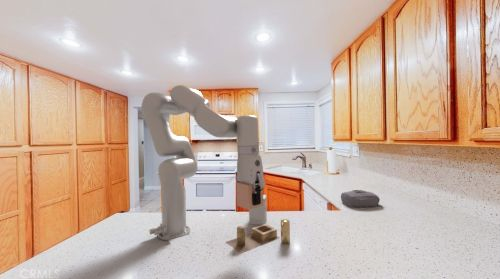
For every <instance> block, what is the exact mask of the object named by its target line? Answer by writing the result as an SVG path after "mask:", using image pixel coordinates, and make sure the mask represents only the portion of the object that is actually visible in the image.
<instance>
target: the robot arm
mask: <svg viewBox="0 0 500 279" xmlns="http://www.w3.org/2000/svg"><path fill="white" fill-rule="evenodd" d="M210 104H211V103H210V101H209V99H207V98H205V97H204V96H203V94H202V93H201V91H199V90H198V89H195V88H194V87H189V86H187V85H181V84H179V85H178V84H177V85H175V86H173V87H172V88H171V90H170V92H169V94H166V93H160V92H149V93H148V94H146V95H145V96H144V97H143V99H142V102H141V115H142V118H143V120H144V122H145V123H146V126H147V128H148V130H149V135H150V137H151V139H152V143H153V146H154V149H155V152H156V154H157V155H158V156H159V157H161V158H167V159H165V160H163V161H162V162H161V163H160V164H159V166H158V169H157V172H158V173H157V174H158V177H159V183H160V193H161V194H160V195H161V223H159V226H157V227H155V228H151V229H149V235H152V234H153V235H154V236H156V235H157V237H158V238H159V239H160V240H162V241H171V240H175V239H178V238H181V237H184V236H189V234H190V233H191V228H190V226H187V207H186V205H187V204H186V203H187V202H186V194H187V193H186V189H185V185H184V183H183V181H182V180H184V179H188V178H191V177H194V176H195V175H196V174H197V172H198V163H197V159H196V157H195V154H194V150H193V147H192V145H191V142H190V141H189V139H188V137H186V136H184V135H181V134H175V133H174V132H173V130H172V129H171V125H170V123H169V121H168V119H166V118H165V116H163V114H164V115H170V116H171V115H172V116H179V115H182V114H185V113H187V114H189V115H190V116H191V117H193V119H194V122H195V123H196V124H197V126H198V127H199V128H201V129H203V130H204V131H206V132H207V133H208V134H209V135H212V136H213V137H214V138H221V139H222V138H229V139H230V138H236V145H237V148H236V150H237V158H236V176H235V180H236V183H238V182H241V183H245V184H250V185H252V190H253V193H252V203H253V205H254V206H255V205H258V204H261V192H262V189H263V190H264V187H265V186H266V181H265V178H264V167H263V161H262V156H261V154H260V144H259V143H260V142H259V141H260V139H259V138H260V137H259V118H258V117H257V116H255V115H251V114H249V115H246V114H245V115H239V116H238V117H231V116H226V115H221V114H220V113H218V112H216V111H214V110H213V109H211V105H210ZM168 157H172V158H168ZM255 182H256V183H255ZM256 185H257V188H255V186H256Z"/></svg>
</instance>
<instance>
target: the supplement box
mask: <svg viewBox="0 0 500 279" xmlns="http://www.w3.org/2000/svg"><path fill="white" fill-rule="evenodd" d="M263 204H264V206H261V207H257V208H254V209H250V210H248V223H249V225H250V224H251V225H263V224H266V223H267V221H268V220H267V217H268V216H267V214H268V213H267V194H263Z"/></svg>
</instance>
